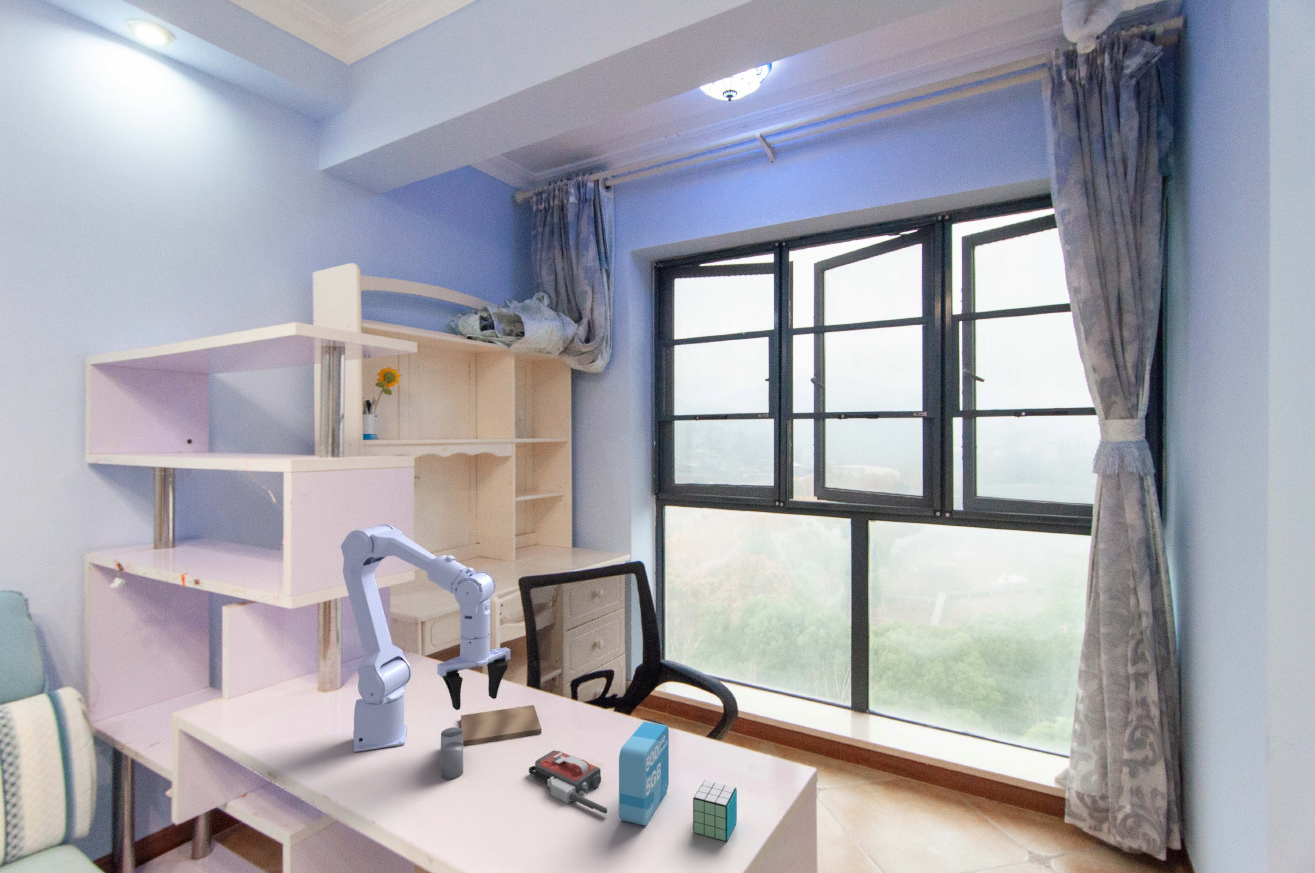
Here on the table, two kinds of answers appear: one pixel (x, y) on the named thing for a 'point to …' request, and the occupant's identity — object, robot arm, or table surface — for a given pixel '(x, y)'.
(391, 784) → the table surface
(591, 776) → the walkie-talkie
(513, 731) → the walnut board
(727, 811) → the puzzle toy
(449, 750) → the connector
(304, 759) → the table surface
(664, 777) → the data package
